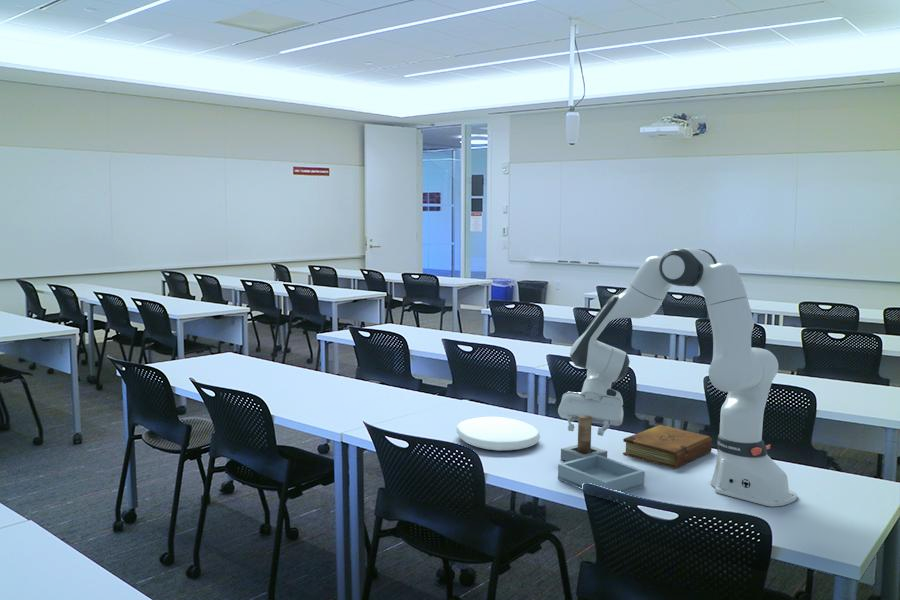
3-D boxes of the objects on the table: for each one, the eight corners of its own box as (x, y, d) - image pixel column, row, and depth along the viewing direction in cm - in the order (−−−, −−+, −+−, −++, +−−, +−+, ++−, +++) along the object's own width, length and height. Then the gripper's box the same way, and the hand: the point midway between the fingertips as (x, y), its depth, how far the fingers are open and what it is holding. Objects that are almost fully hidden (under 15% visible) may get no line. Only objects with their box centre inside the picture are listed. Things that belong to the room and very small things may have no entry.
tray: (644, 486, 206) (644, 471, 205) (605, 498, 197) (605, 482, 196) (596, 468, 220) (596, 454, 220) (557, 479, 211) (558, 464, 210)
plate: (555, 429, 244) (499, 446, 227) (553, 448, 246) (497, 465, 228) (496, 404, 265) (441, 417, 247) (495, 421, 266) (439, 436, 248)
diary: (676, 471, 221) (677, 452, 220) (622, 456, 234) (623, 438, 233) (711, 453, 237) (712, 436, 237) (658, 440, 250) (659, 424, 250)
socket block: (606, 462, 226) (607, 451, 226) (584, 468, 220) (584, 457, 220) (583, 453, 234) (583, 443, 234) (560, 459, 228) (560, 448, 228)
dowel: (592, 461, 227) (594, 417, 225) (583, 464, 224) (585, 419, 223) (583, 458, 230) (584, 414, 228) (574, 460, 228) (575, 416, 226)
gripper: (562, 385, 237) (550, 422, 229) (625, 393, 228) (615, 431, 220) (566, 396, 241) (555, 432, 234) (628, 404, 232) (618, 442, 225)
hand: (585, 432), depth 227 cm, fingers open, 8 cm apart
